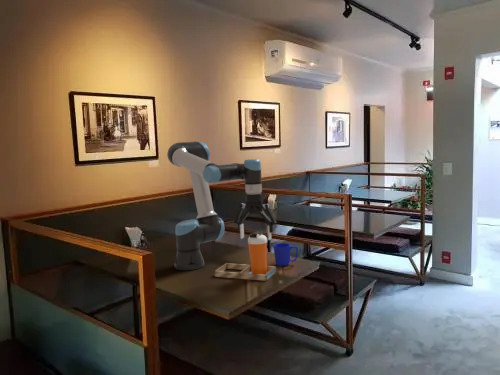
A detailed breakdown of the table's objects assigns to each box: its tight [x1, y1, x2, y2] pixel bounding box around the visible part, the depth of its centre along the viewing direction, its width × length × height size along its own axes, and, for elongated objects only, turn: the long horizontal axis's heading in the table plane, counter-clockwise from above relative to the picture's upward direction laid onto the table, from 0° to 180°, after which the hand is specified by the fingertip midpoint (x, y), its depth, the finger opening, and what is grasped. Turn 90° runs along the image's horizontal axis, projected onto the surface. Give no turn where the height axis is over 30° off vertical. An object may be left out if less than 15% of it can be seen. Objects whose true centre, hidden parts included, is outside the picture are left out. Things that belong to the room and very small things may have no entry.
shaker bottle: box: [247, 230, 268, 275], centre depth 192 cm, size 9×9×20 cm
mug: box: [273, 242, 299, 267], centre depth 206 cm, size 8×12×10 cm
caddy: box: [213, 262, 277, 282], centre depth 195 cm, size 26×13×2 cm, turn 68°
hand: (255, 238), depth 191 cm, fingers open, 13 cm apart
